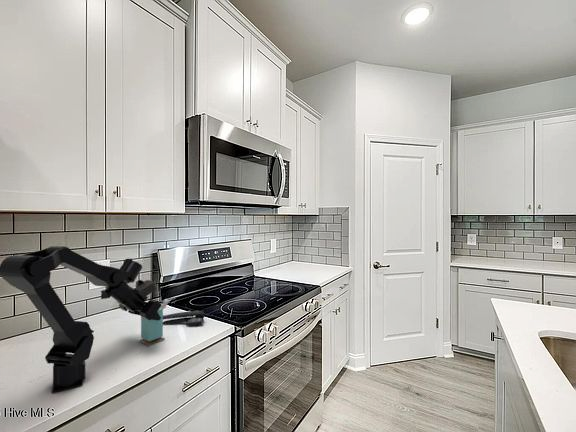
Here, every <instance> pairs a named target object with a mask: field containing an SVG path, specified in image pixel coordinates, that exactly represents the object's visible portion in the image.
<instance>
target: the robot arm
mask: <svg viewBox="0 0 576 432" xmlns="http://www.w3.org/2000/svg"><path fill="white" fill-rule="evenodd" d="M59 266H61V267H64V268H65V269H69V270H71V271H73V272H75V273H77V274H80V275H82V276H84V277H86V279H87V281H88V282H90V283H91V284H92V285H94V286H95V287H96V286H97V287H106V288H105V289H104V290H103V289H102V290H100V293H101V294H100V299H101V300H104V299H105V300H106V299H110V298H112V299H114V300H115V301H116V303H117V304H119V305H118V306H119V307H118V308H119V309H121V310H122V311H124V312H128V313H129V314H132V315H136V316H140V318H141V317H142V318H144V319H147V320H158V321H159V320H160V319H161V317H160V315H159V314H158V312H157V311H158V310H159V309H160V307H161V306H162V304H163V303H161V302H160V301H159V300H155V299H149V297H148V296H149V295H150V294H152V293H153V292H156V290H158V288H157V286H156V284H155V282H154V281H153V280H149V279H146V280H142V279H138V280H137V281H135V280H136V279H137V277H138V276H139V275H140V273H141V271H142V270H143V265H142V264H141V263H139V262H137V261H135V260H133V259H132V258H126V259H125V260H124V261H123V264H121V266H120V268H118V267H113V266H110V265H103V264H99V263H97V262H96V261H93V260H91V259H89V258H87V257H85V256H83V255H81V254H80V253H77V252H75V251H74V250H72V249H71V248H70V247H68V246H59V245H57V246H56V245H51V246H49V247H46V248H44V249H41V250H36V251H31V252H27V253H23V254H21V255H19V254H14V255H9V256H7V257H6V258H4V259H3V260H2V261H1V263H0V277H1V278H2V279H3V280H4V281H5V282H6V283H7V284H9V285H10V286H12V287H13V288H15V289H17V290H20V291H21V292H23V293H24V294H25V295H26V296H27V298H28V299H29V301H30V302H31V303H32V304H33V306H34V307H35V308H36V310H37V312H39V314H40V315H41V316H42V318H43V319H44V320H45V322H46V323H47V325H48V326H49V327H50V329H51V330H52V332H53V336H52V343H53V345H52V346H51V348H50V350H49V351H48V352H47V354H46V355H45V357H44V358H45V361H46V363H47V364H52V378H53V379H52V388H51V394H54V393H58V392H63V391H66V390H70V389H73V388H77V387H81V386H83V384H84V380H85V379H86V361H87V360H88V359H89V358H90V356H91V352H92V347H93V345H94V339H95V336H94V332H95V331H94V330H93V329H92V328H91V326H90V324H89V322H87V321H79V320H74V318H73V315H71V313H70V311H69V310H68V309H67V307H66V306H65V304H64V302H63V301H62V299H61V298H60V297H59V295H58V293H57V292H56V290H55V289H54V287H53V286H52V284H51V283H50V281H51V275H52V273H51V271H54V270H56V269H57V268H59ZM134 282H135V288H133V287H131V286H130V285H129V284H130V283H134ZM148 299H149V300H148ZM147 300H148V301H147Z"/></svg>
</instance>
